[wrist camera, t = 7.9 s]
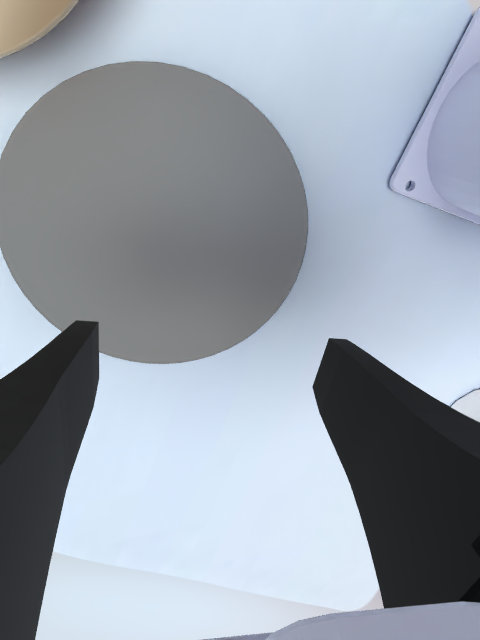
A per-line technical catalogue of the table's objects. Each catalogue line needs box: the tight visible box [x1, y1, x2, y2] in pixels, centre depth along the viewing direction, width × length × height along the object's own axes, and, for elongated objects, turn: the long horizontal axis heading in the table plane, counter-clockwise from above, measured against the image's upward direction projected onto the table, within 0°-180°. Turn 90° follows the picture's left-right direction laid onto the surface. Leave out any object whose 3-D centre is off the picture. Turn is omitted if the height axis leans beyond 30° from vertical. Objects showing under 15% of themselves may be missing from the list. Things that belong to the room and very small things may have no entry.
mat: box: [0, 62, 308, 364], centre depth 19 cm, size 15×15×1 cm
